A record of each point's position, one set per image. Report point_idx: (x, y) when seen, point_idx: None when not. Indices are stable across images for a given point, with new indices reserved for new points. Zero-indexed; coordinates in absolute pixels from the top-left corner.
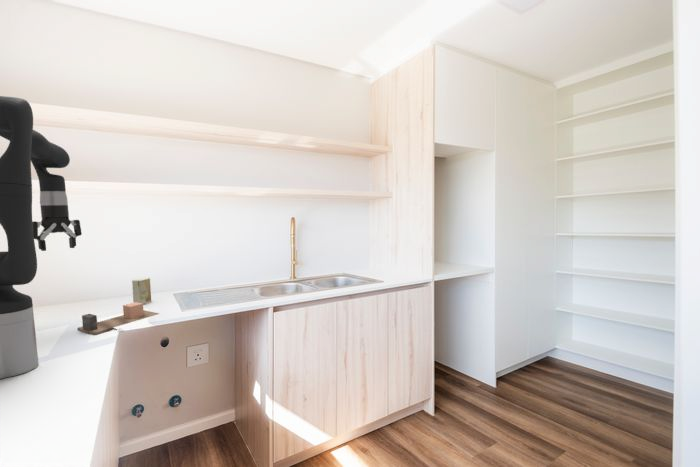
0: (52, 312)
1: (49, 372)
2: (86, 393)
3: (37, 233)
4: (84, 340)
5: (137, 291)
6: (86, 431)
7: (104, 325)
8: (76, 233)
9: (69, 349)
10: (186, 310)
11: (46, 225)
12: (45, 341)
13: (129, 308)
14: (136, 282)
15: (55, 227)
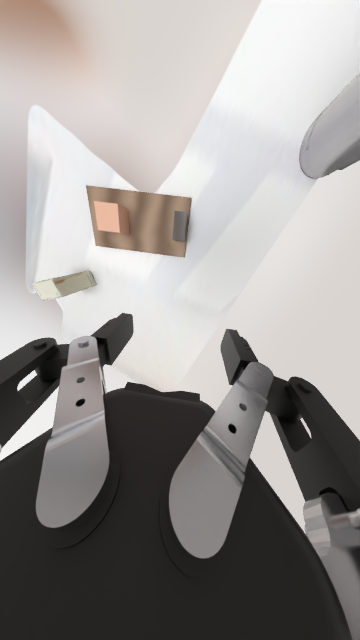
0: (156, 355)
1: (344, 42)
2: None
3: (311, 412)
4: (211, 188)
5: (73, 281)
6: None
7: (163, 223)
8: (54, 358)
9: (245, 163)
10: (43, 159)
11: (274, 513)
12: (226, 250)
13: (119, 208)
14: (60, 286)
15: (173, 446)
